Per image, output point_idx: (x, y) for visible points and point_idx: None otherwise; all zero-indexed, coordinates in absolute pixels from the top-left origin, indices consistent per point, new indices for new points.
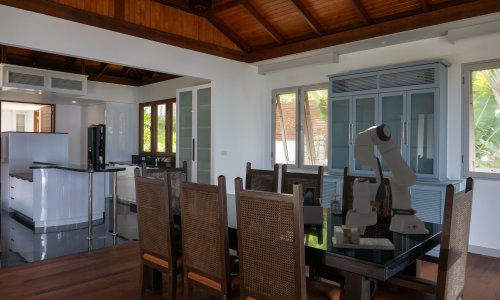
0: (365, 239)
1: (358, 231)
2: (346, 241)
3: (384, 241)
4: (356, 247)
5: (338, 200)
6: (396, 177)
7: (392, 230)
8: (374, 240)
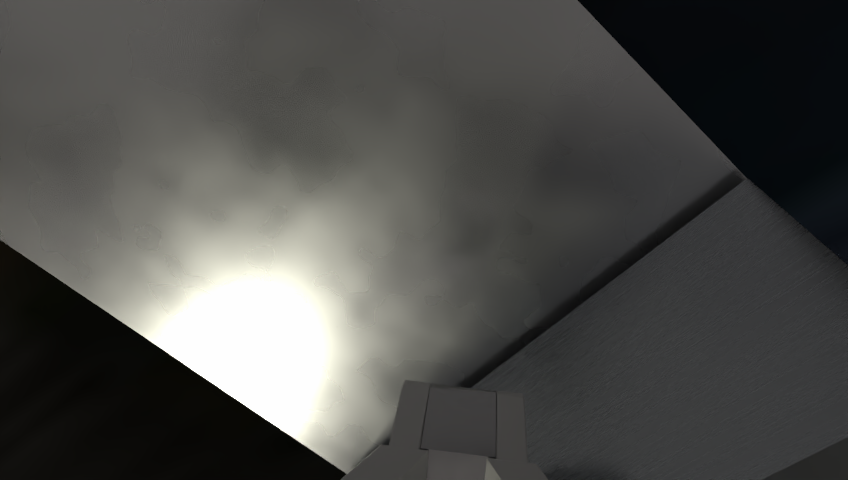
0: (284, 335)
1: (835, 472)
2: None
3: (2, 14)
4: None
5: None
6: None
7: None
8: (168, 198)
